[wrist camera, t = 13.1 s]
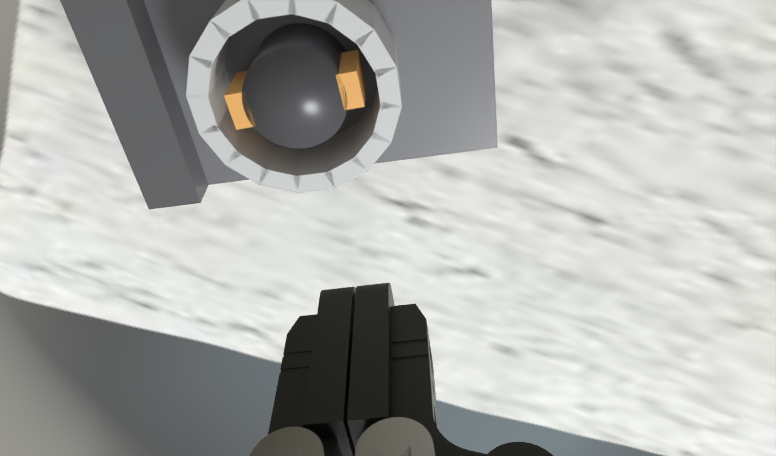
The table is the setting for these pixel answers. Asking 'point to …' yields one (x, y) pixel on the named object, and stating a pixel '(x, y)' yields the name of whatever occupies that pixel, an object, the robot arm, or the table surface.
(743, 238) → the table surface
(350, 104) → the grey dome
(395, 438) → the robot arm
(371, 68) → the camera body
